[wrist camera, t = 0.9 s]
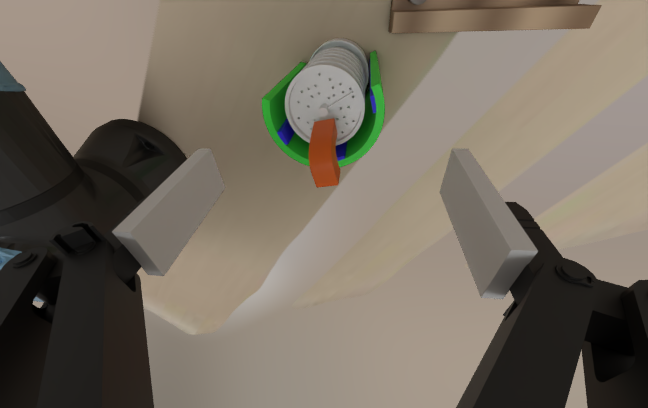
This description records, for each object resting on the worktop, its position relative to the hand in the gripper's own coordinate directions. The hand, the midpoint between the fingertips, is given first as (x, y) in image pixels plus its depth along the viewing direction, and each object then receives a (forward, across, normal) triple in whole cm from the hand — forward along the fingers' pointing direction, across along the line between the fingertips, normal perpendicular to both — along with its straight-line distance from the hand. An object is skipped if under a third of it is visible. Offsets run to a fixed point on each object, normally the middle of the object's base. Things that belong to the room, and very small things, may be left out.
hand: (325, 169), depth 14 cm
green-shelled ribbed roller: (+21, 0, 0) cm, 21 cm away
